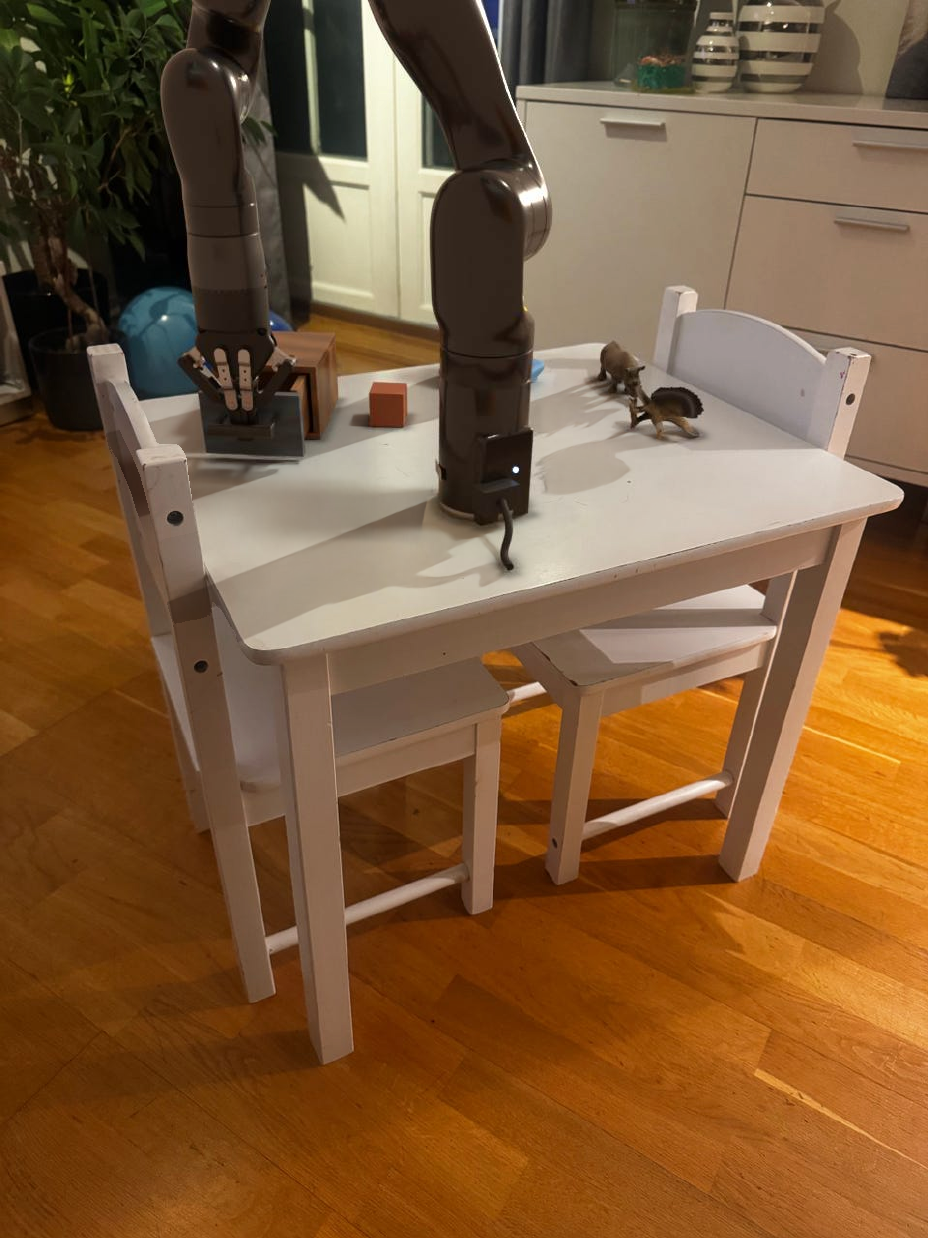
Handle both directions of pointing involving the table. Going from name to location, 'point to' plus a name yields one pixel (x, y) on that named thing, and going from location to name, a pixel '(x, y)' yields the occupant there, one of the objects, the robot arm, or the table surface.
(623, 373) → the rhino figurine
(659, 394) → the brown plastic figure
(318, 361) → the cabinet
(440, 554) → the table surface
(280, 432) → the drawer
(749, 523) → the table surface
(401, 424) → the block
